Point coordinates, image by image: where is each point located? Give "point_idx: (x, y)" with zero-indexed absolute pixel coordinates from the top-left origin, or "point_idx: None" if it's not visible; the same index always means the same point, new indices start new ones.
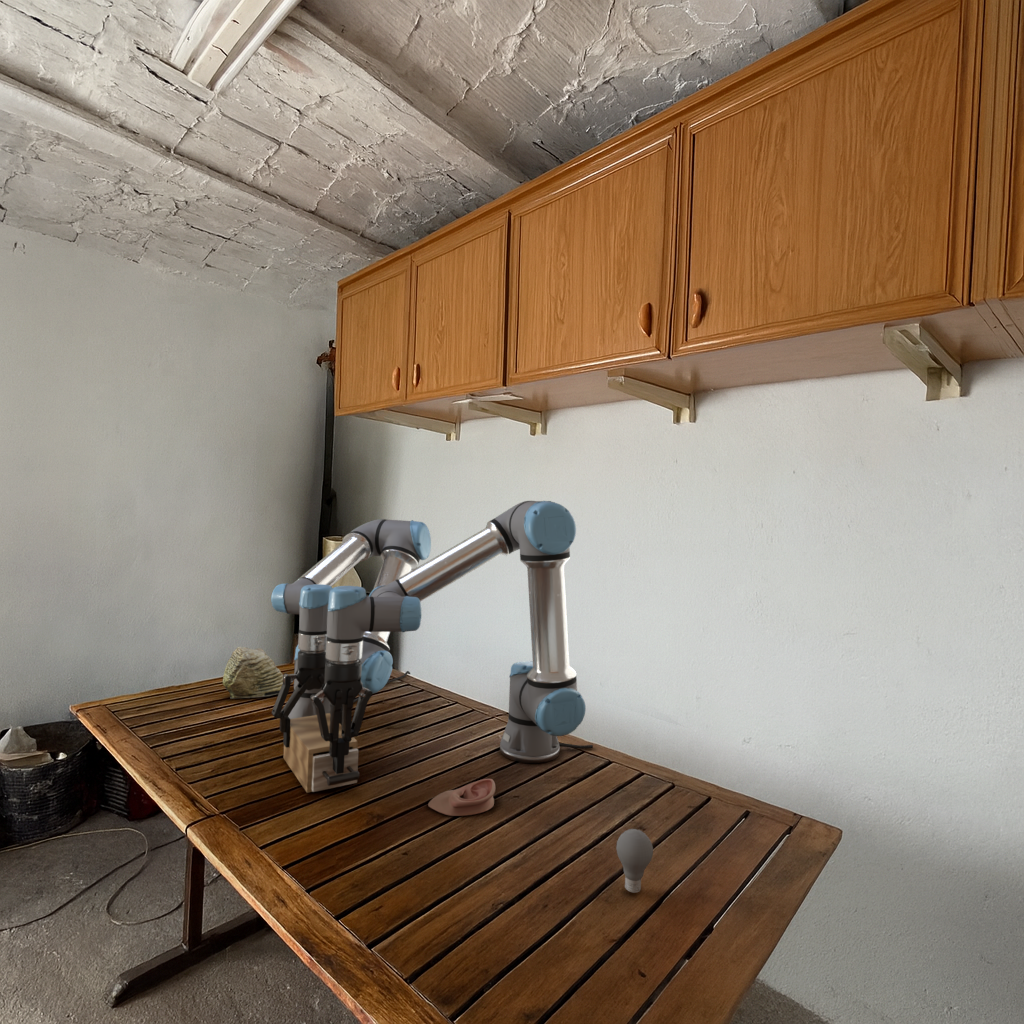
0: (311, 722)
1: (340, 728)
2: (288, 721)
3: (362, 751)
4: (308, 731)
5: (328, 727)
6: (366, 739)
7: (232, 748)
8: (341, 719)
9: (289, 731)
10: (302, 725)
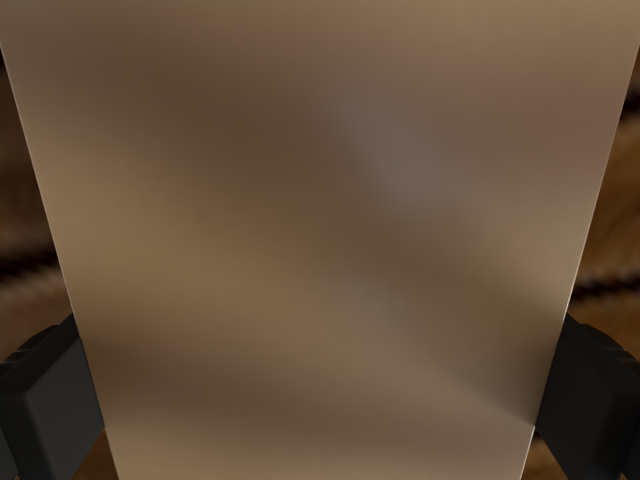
0: (334, 353)
1: (44, 11)
2: (620, 375)
3: (42, 222)
4: (463, 101)
5: (196, 128)
6: (8, 348)
7: (561, 471)
8: (29, 348)
9: None
10: (445, 313)
